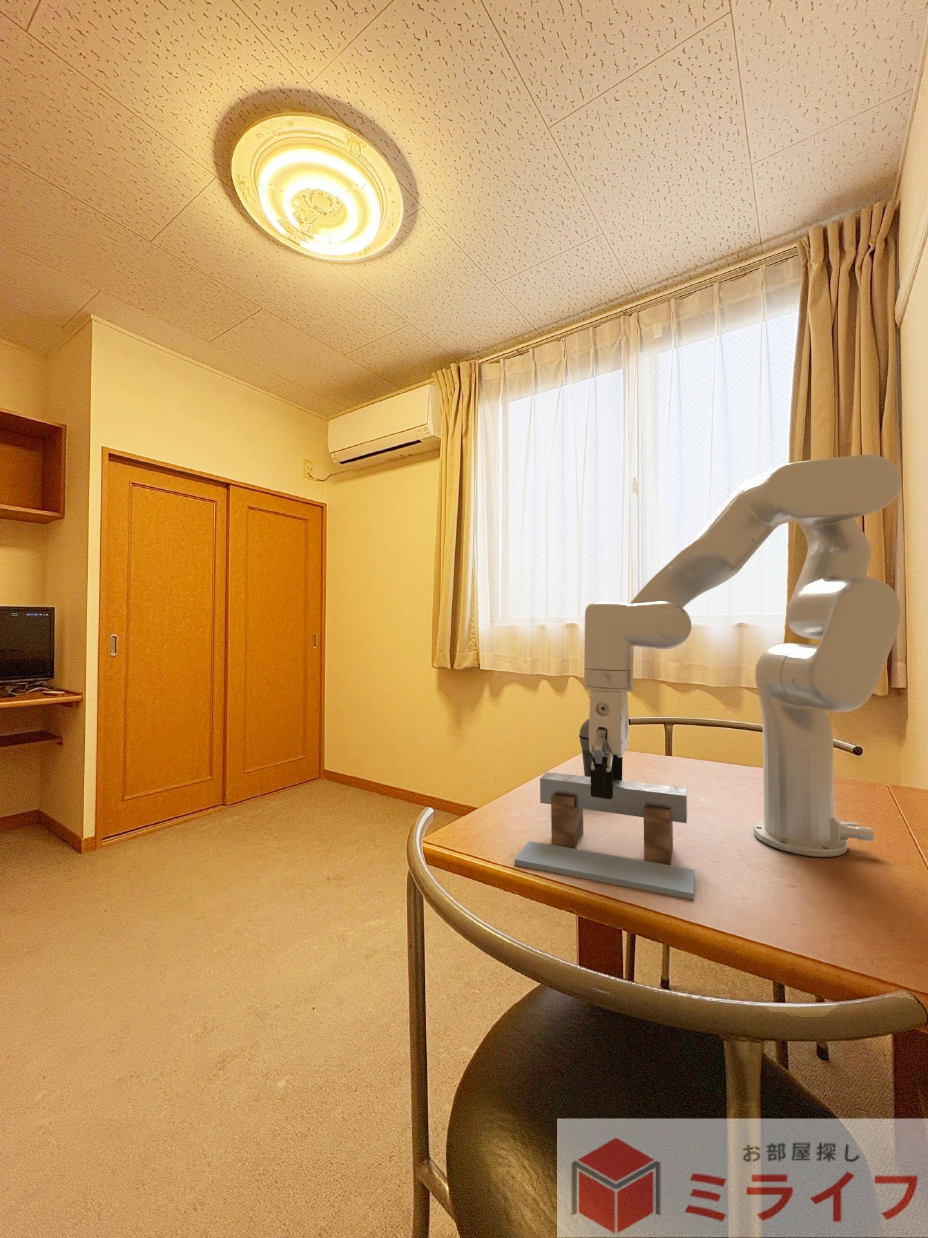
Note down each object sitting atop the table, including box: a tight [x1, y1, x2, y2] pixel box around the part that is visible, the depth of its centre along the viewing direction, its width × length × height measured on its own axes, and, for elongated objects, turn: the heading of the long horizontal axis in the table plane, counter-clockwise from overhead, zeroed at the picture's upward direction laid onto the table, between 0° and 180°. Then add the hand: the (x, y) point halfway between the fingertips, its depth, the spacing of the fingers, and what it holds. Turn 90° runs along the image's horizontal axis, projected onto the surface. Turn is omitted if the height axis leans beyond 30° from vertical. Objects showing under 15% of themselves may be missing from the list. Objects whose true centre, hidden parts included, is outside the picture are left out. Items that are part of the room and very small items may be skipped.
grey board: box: [514, 840, 695, 901], centre depth 74 cm, size 24×7×1 cm, turn 65°
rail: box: [539, 771, 688, 824], centre depth 82 cm, size 22×4×4 cm, turn 65°
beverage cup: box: [578, 695, 593, 777], centre depth 108 cm, size 7×7×20 cm
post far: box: [550, 794, 584, 849], centre depth 84 cm, size 4×7×8 cm, turn 155°
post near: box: [643, 806, 674, 866], centre depth 79 cm, size 4×7×8 cm, turn 155°
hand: (607, 788), depth 82 cm, fingers open, 9 cm apart
